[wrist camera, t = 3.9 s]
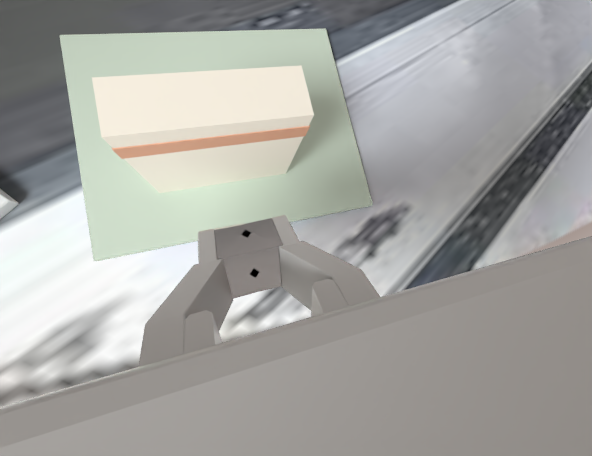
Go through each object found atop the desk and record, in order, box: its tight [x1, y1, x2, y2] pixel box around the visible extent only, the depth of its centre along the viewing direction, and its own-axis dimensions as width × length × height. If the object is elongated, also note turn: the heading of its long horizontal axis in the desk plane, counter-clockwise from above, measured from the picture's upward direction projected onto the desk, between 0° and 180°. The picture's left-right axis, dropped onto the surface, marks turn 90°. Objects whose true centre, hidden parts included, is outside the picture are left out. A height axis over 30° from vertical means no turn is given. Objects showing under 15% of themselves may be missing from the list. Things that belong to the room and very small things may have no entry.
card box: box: [92, 65, 314, 193], centre depth 16 cm, size 9×3×8 cm, turn 103°
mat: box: [60, 29, 373, 261], centre depth 20 cm, size 20×16×1 cm
